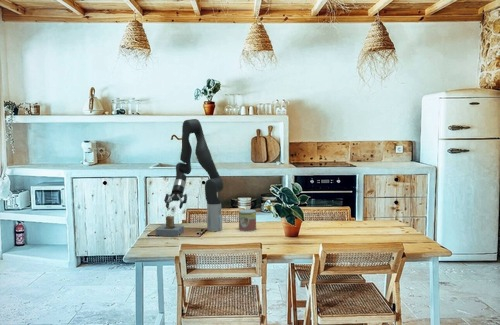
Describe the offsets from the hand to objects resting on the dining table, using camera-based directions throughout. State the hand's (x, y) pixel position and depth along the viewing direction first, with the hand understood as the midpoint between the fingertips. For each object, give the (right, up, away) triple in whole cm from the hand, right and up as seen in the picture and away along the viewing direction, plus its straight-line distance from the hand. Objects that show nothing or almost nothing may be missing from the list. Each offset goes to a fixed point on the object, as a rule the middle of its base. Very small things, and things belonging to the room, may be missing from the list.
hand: (173, 207), depth 283 cm
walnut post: (-1, -16, -6) cm, 17 cm away
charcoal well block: (-1, -16, -6) cm, 17 cm away
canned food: (+47, -14, +4) cm, 50 cm away
